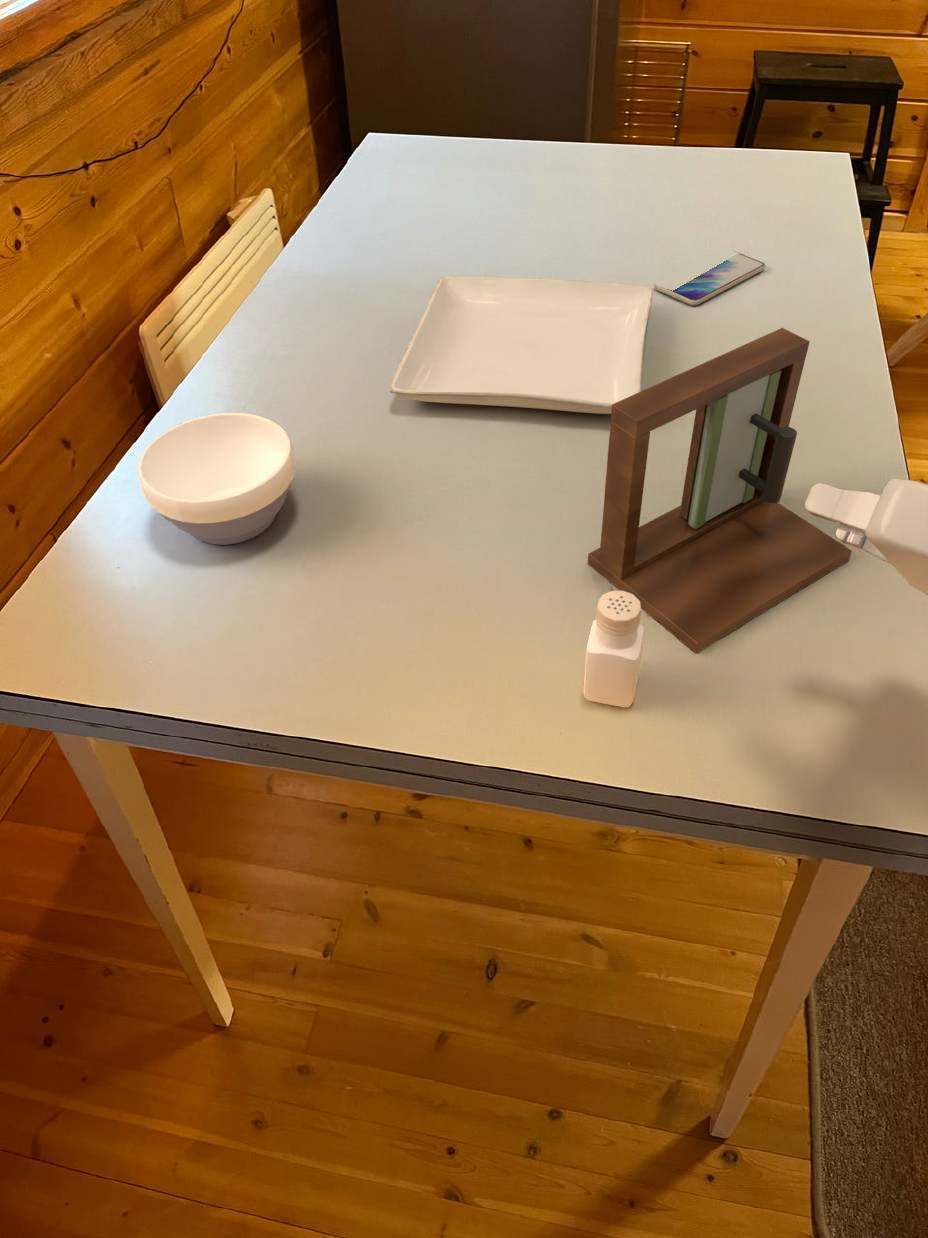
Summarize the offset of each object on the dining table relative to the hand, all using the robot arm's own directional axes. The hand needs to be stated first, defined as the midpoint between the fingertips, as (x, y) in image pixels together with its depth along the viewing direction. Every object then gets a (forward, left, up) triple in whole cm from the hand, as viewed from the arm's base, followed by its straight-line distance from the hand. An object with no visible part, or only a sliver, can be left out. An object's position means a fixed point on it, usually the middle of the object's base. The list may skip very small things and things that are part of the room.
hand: (826, 513), depth 60 cm
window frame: (+10, -13, -19) cm, 25 cm away
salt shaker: (+11, +5, -19) cm, 23 cm away
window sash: (+9, -16, -17) cm, 25 cm away
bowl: (+53, +4, -19) cm, 57 cm away
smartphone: (+31, -65, -19) cm, 74 cm away
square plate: (+42, -36, -19) cm, 58 cm away
